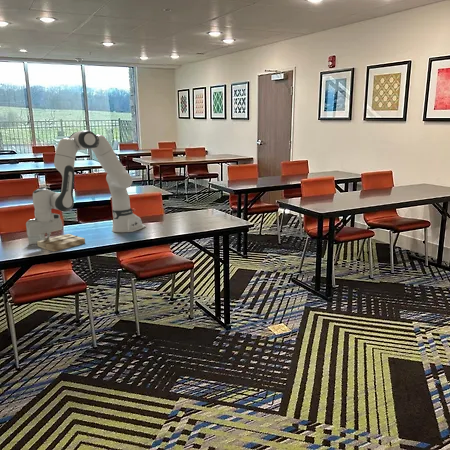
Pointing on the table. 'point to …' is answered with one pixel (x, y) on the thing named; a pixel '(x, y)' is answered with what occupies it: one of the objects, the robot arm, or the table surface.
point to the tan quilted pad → (42, 242)
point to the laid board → (65, 243)
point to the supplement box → (34, 238)
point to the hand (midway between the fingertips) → (46, 240)
